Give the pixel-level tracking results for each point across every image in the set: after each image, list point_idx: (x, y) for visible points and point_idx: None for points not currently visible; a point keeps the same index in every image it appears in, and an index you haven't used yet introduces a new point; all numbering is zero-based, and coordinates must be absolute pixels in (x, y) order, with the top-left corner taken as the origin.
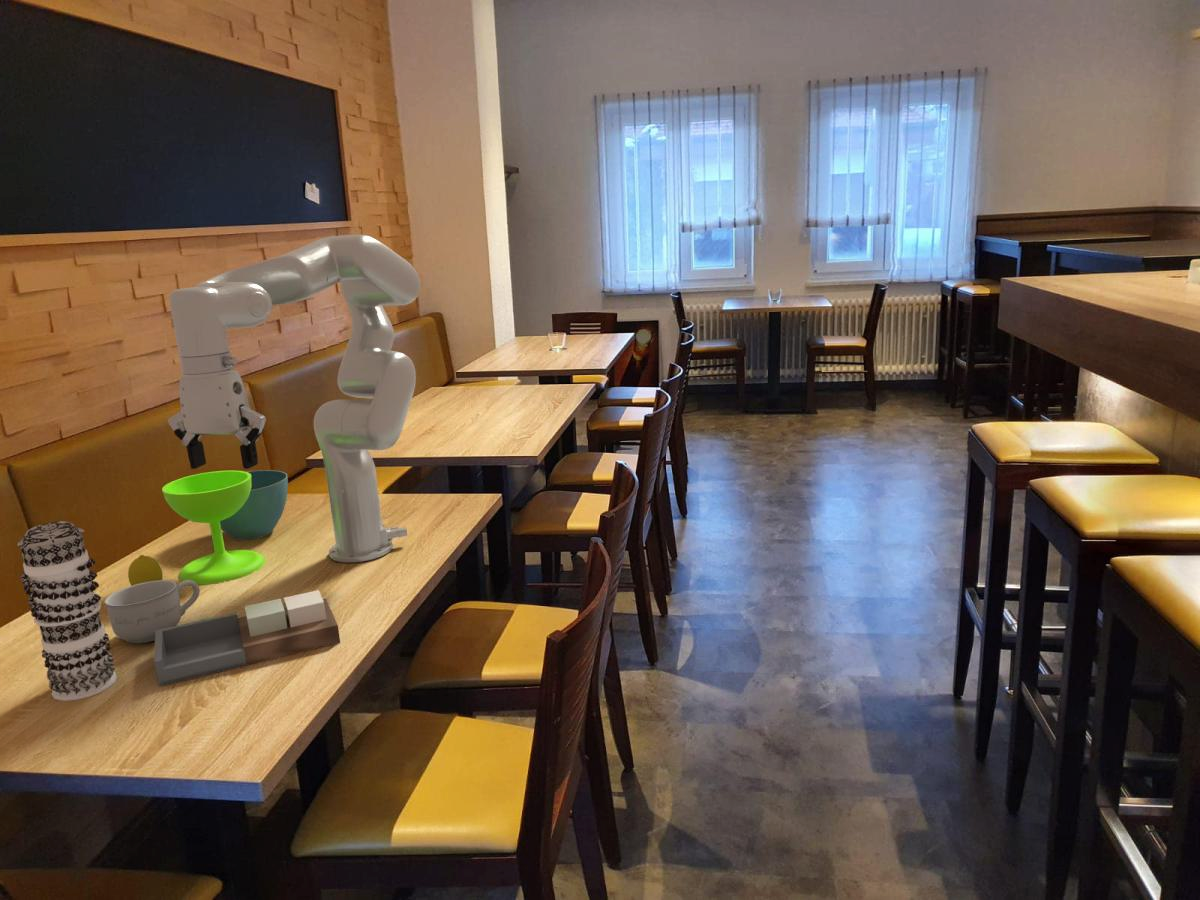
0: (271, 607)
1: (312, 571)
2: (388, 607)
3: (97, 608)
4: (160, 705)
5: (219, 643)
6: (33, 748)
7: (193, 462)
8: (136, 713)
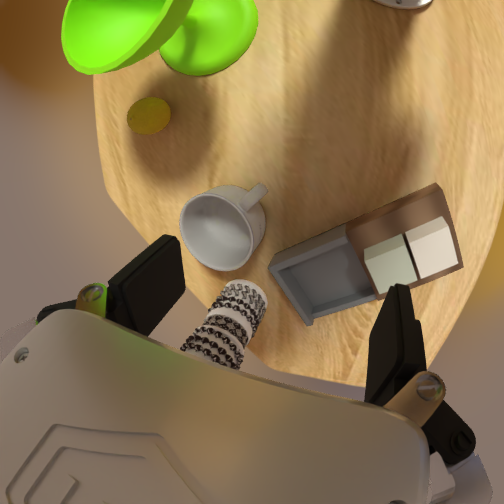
0: (400, 269)
1: (351, 27)
2: (495, 176)
3: (242, 349)
4: (326, 333)
5: (334, 251)
6: (268, 357)
7: (173, 302)
8: (313, 338)
